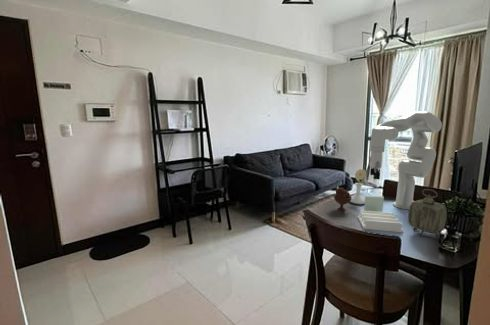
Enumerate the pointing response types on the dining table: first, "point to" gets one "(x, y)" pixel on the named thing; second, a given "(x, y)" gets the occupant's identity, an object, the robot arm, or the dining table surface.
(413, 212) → the tabletop clock
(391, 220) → the dish rack
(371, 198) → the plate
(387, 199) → the dining table surface
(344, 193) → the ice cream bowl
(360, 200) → the flower in vase
